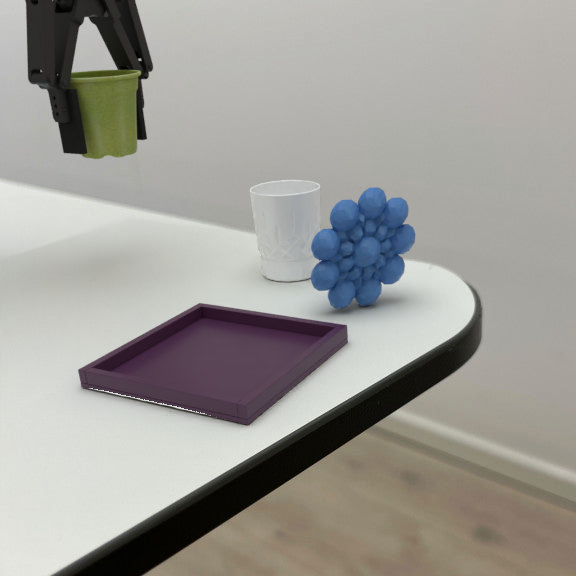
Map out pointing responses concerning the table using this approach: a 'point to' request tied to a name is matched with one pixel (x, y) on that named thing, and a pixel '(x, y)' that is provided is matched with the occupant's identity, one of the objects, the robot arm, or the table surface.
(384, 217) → the blue flower ornament
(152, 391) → the tray
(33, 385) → the table surface
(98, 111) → the plant pot
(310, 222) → the white cup
